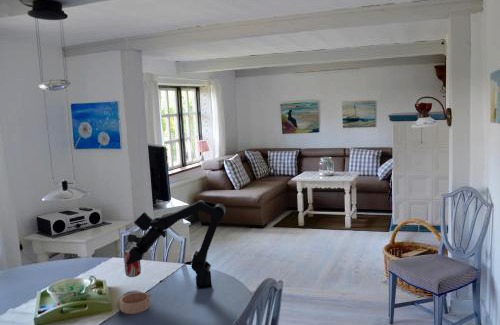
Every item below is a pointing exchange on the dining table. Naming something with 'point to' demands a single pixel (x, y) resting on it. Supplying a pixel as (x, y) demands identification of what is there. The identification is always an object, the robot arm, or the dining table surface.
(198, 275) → the robot arm
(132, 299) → the dish
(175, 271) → the dining table surface
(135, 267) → the soda can
